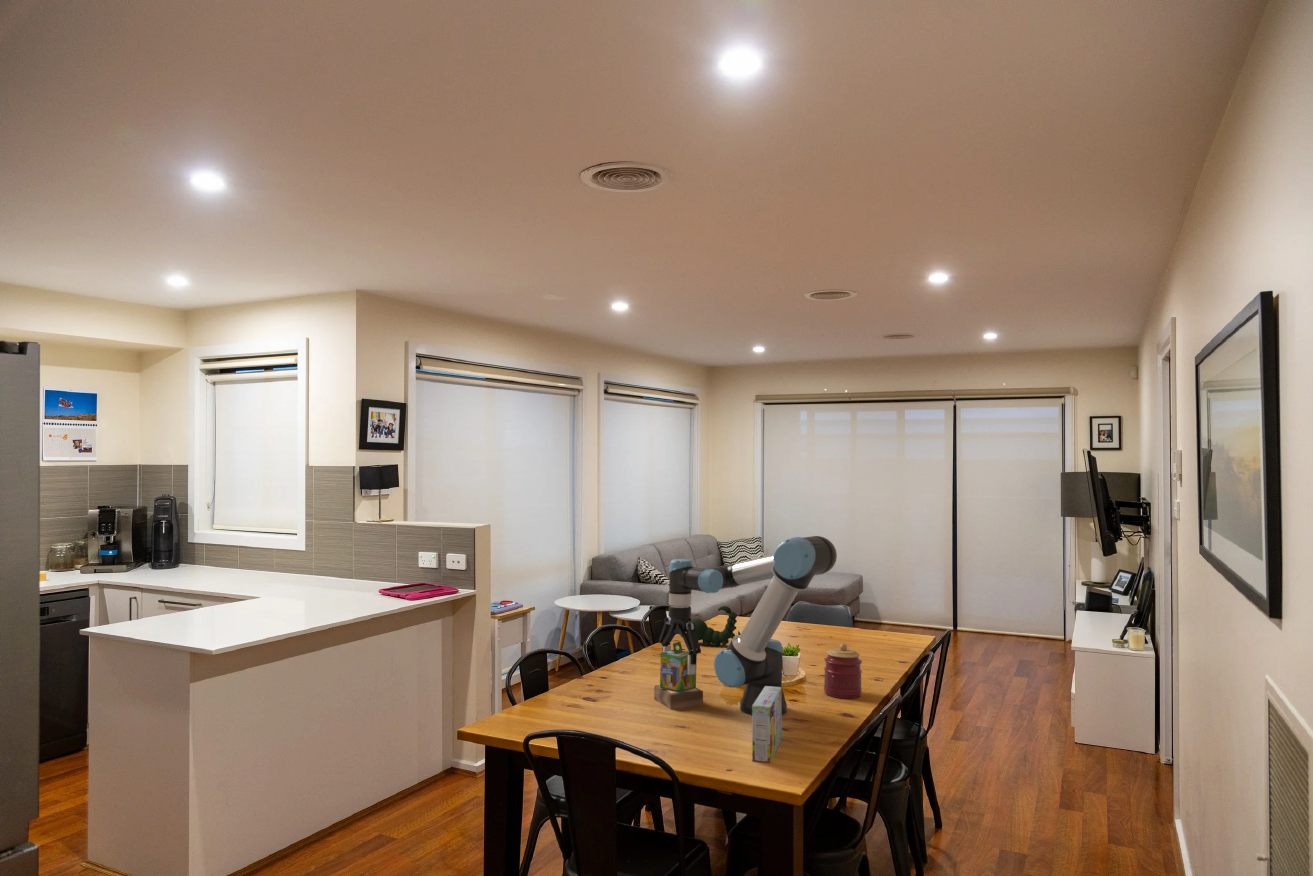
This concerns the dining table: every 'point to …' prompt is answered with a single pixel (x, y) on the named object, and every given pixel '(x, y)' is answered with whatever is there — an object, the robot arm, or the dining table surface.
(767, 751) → the snack box
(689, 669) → the robot arm
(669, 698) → the riser
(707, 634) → the toy figurine
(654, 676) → the dining table surface
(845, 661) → the canister
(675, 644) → the chalk box
